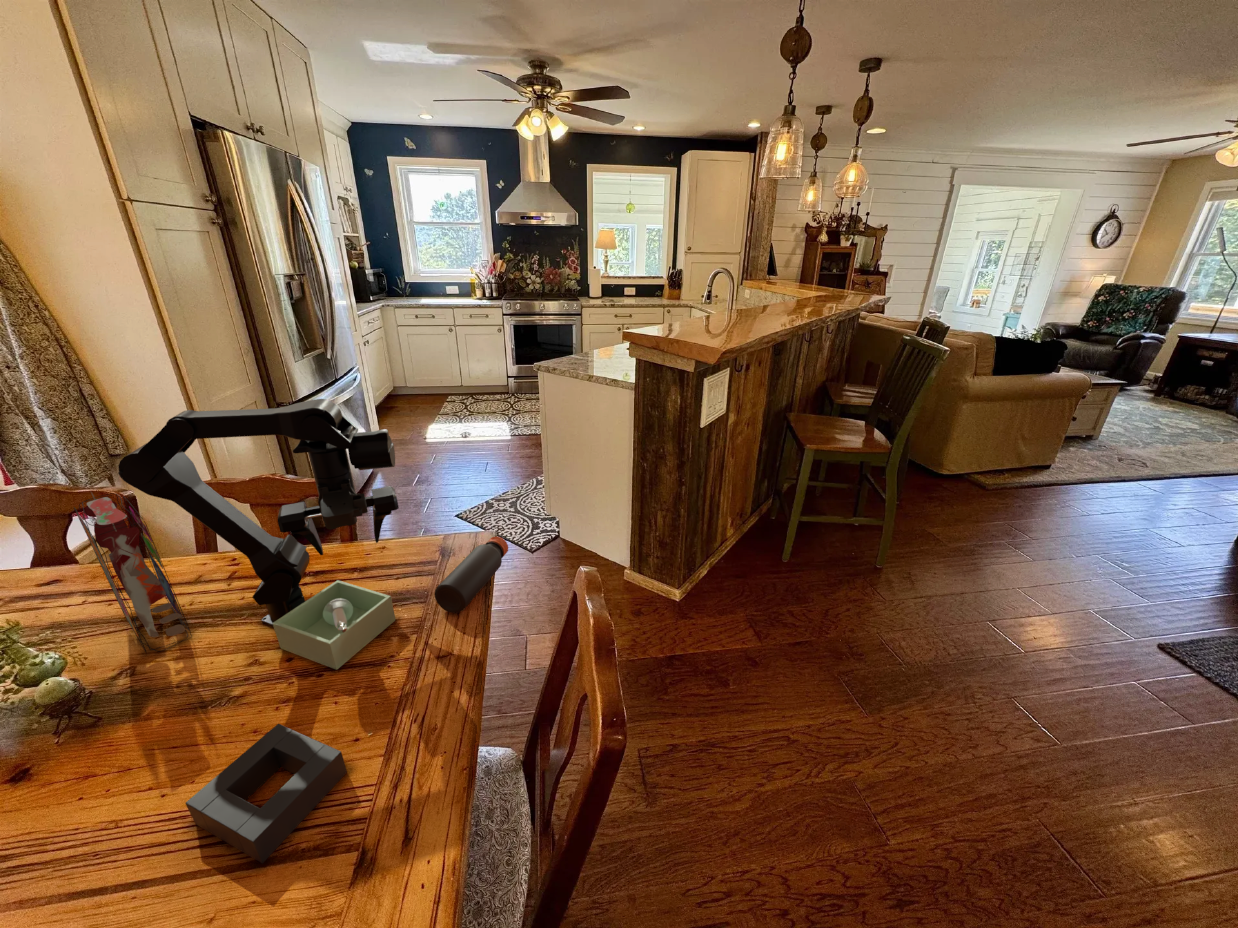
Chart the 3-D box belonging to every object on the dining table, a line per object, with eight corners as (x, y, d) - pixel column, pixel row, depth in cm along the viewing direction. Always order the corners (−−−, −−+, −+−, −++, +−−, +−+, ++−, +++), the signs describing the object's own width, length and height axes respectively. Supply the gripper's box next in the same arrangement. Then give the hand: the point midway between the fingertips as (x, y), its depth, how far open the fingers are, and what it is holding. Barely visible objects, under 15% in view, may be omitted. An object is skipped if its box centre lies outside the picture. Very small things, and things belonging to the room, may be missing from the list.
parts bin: (280, 648, 86) (272, 623, 84) (343, 603, 98) (337, 579, 95) (336, 669, 82) (329, 643, 80) (395, 619, 93) (391, 595, 91)
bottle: (469, 597, 92) (516, 542, 110) (439, 578, 92) (491, 527, 110) (458, 620, 95) (506, 563, 113) (429, 601, 95) (481, 548, 113)
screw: (353, 617, 94) (324, 624, 91) (350, 592, 93) (320, 599, 91) (361, 639, 83) (328, 648, 80) (357, 611, 83) (323, 619, 80)
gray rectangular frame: (195, 824, 60) (184, 802, 58) (285, 743, 70) (278, 722, 68) (262, 863, 56) (252, 841, 54) (347, 771, 66) (341, 751, 64)
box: (115, 600, 97) (63, 489, 88) (155, 585, 102) (110, 478, 92) (148, 658, 84) (91, 534, 74) (193, 638, 88) (145, 519, 79)
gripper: (264, 502, 76) (289, 585, 82) (394, 479, 84) (408, 556, 90) (270, 475, 85) (292, 552, 91) (388, 457, 93) (401, 528, 99)
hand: (350, 547), depth 92 cm, fingers open, 9 cm apart
